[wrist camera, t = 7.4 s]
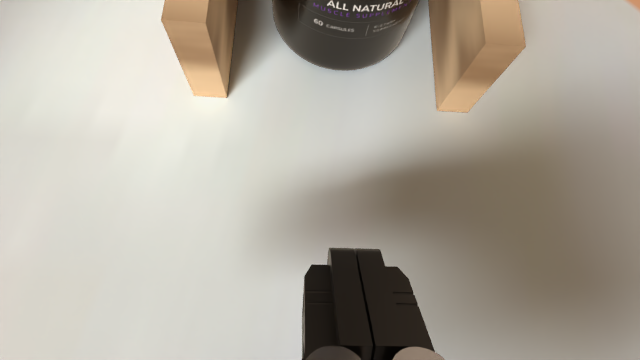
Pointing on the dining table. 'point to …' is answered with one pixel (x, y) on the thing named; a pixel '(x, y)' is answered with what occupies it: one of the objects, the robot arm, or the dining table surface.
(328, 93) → the dining table surface
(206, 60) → the frame
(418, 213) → the dining table surface
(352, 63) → the supplement bottle
